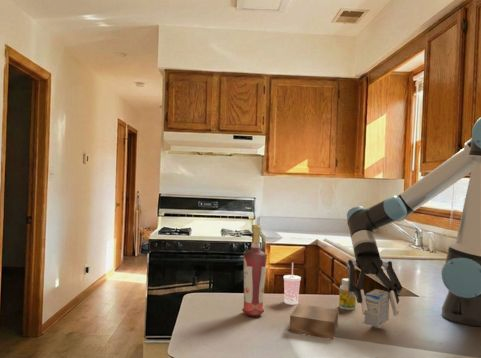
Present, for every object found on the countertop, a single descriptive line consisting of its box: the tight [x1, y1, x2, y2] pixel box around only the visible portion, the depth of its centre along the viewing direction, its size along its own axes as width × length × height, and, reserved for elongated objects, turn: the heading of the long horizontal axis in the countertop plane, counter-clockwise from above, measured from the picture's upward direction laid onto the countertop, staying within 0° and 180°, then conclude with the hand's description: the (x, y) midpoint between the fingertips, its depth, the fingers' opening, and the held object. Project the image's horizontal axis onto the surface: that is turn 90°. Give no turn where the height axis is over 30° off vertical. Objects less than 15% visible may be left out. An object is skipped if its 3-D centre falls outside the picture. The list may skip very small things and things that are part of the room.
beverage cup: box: [283, 262, 302, 306], centre depth 142 cm, size 6×6×14 cm
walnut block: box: [289, 303, 339, 340], centre depth 117 cm, size 12×12×5 cm
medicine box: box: [364, 288, 390, 327], centre depth 119 cm, size 8×4×9 cm, turn 141°
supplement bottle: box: [338, 277, 357, 311], centre depth 139 cm, size 5×5×10 cm
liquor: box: [241, 224, 268, 318], centre depth 127 cm, size 7×7×28 cm
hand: (381, 312), depth 116 cm, fingers closed on medicine box, 8 cm apart
